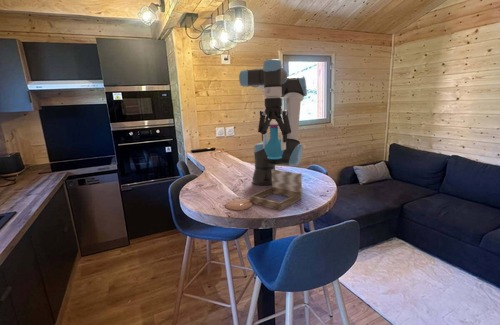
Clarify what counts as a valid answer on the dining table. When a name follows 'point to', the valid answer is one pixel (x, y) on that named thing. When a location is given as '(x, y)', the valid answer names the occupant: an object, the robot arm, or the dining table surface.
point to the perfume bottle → (273, 144)
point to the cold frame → (281, 190)
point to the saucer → (238, 204)
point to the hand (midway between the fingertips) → (274, 148)
